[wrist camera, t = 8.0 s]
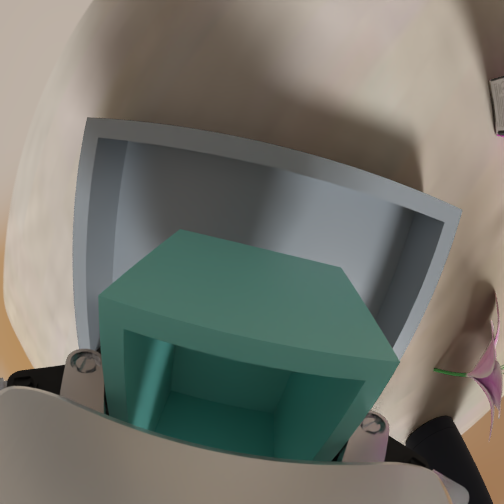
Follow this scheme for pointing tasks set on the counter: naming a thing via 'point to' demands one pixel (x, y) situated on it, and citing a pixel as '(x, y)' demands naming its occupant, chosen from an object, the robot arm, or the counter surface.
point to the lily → (487, 373)
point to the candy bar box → (498, 103)
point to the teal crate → (241, 349)
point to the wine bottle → (449, 456)
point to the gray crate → (252, 215)
